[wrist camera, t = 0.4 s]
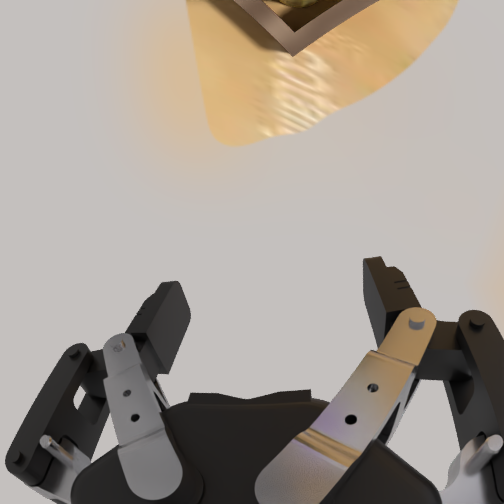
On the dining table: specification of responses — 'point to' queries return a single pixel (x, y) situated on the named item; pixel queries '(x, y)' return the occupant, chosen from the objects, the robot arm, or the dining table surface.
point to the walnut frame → (311, 31)
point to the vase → (299, 2)
